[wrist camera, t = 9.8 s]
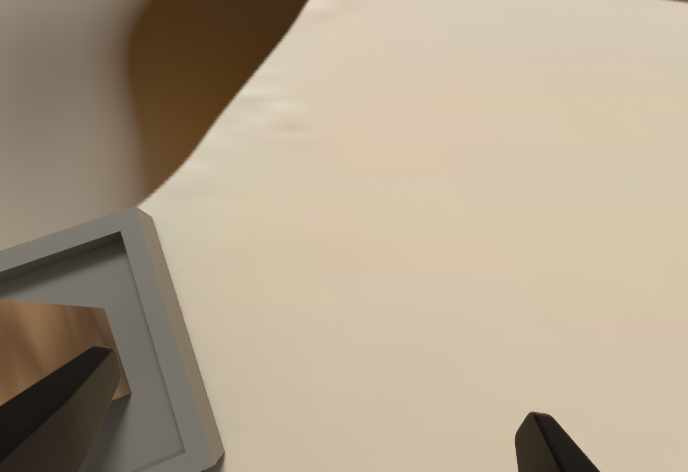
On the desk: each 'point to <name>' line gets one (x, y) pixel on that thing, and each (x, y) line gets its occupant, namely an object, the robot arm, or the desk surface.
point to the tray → (126, 339)
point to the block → (48, 342)
